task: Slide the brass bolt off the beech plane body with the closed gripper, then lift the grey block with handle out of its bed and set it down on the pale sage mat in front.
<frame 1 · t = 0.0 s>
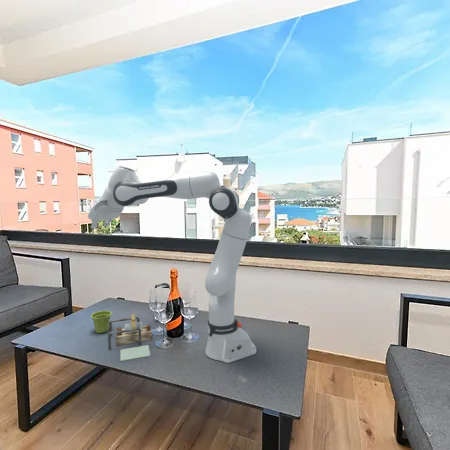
hand: (99, 226, 131), 54 cm above the table, tool tilted 30°, fingers open, 8 cm apart
sage mat: (135, 353, 126), on the table
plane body: (133, 338, 139), on the table
grey block with handle: (133, 332, 139), point 3 cm above the table, touching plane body
plant pot: (102, 331, 147), on the table
brass bolt: (133, 320, 138), point 9 cm above the table, slide at 0.0 cm
portable speaker: (163, 319, 160), on the table
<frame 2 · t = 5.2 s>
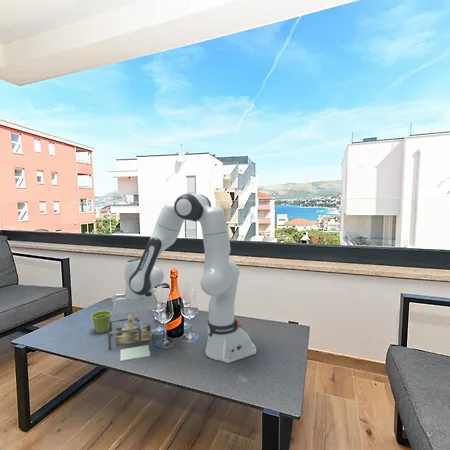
hand: (135, 320, 139), 9 cm above the table, tool pointing down, fingers closed
brass bolt: (130, 320, 138), point 9 cm above the table, slide at 1.3 cm, touching gripper
everything else where it was.
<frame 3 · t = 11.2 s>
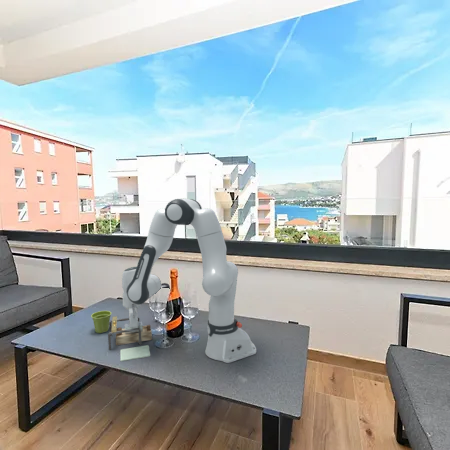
hand: (133, 328, 139), 5 cm above the table, tool pointing down, fingers closed on grey block with handle, 4 cm apart
grey block with handle: (133, 332, 139), point 3 cm above the table, touching gripper, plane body
brass bolt: (114, 322, 135), point 9 cm above the table, slide at 8.5 cm
everything else where it was.
when the fingers open (4 cm above the table, at t = 17.2 s): grey block with handle drops 1 cm, resting on sage mat.
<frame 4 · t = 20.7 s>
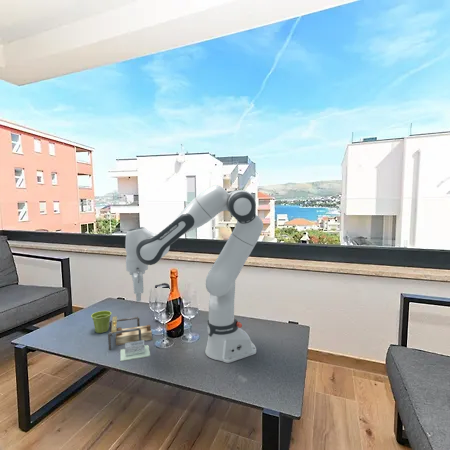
hand: (138, 297, 124), 25 cm above the table, tool pointing down, fingers open, 8 cm apart
grey block with handle: (135, 352, 126), resting on sage mat
everything else where it was.
at the end: brass bolt slide at 8.5 cm; grey block with handle inside the target area (0.0 cm from its centre), point 0.5 cm above the table; the gripper is holding nothing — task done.
